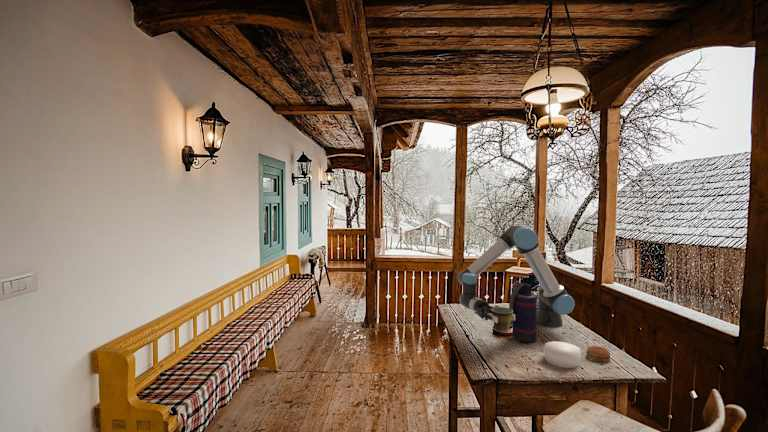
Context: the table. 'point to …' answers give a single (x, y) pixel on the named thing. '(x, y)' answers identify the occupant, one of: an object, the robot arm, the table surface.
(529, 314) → the grenade
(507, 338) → the table surface
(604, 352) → the burger
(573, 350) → the plinth
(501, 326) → the ceramic cup
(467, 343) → the table surface
